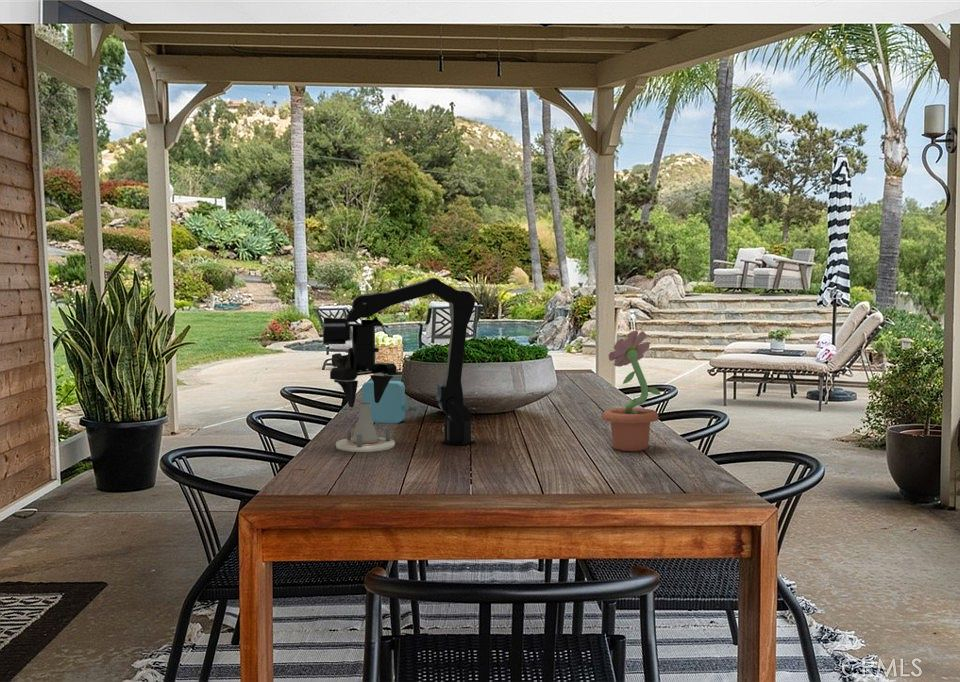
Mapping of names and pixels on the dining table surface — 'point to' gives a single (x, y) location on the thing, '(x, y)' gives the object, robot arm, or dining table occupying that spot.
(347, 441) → the pin cradle
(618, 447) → the decorative flower
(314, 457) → the dining table surface
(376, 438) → the flask
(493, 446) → the dining table surface
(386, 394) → the blue rounded slab
